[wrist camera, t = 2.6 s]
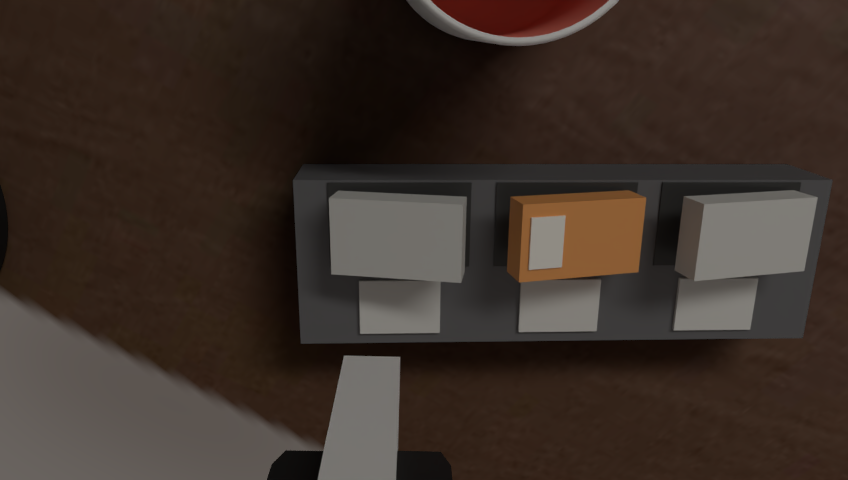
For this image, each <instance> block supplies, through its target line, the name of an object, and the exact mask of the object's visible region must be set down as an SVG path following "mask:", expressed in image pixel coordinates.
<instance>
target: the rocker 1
mask: <svg viewBox="0 0 848 480" xmlns="http://www.w3.org/2000/svg"><path fill="white" fill-rule="evenodd" d="M466 206H467V197H462V196H441V195H420V194H399V193H378V192H357V191H337V192H336V193H335V194H333V195H332V196H331V197H330V198H329V220H330V250H331V274H334V275H349V276H364V277H379V278H394V279H409V280H424V281H439V282H454V283H461V281H462V278H463V275H464V272H465V241H466Z"/></svg>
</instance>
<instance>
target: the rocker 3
mask: <svg viewBox="0 0 848 480" xmlns="http://www.w3.org/2000/svg"><path fill="white" fill-rule="evenodd" d="M817 199H818V197H815V196H812V195H808V194H805V193H802V192H798V191H795V190H786V191H768V192H751V193H734V194H716V195H699V196H684V198H683V206H682V214H681V223H680V231H679V239H678V247H677V255H676V263H675V271H677V272H678V273H680V274H682V275H684V276H686V277H687V278H689V279H691V280H693V281H702V280H713V279H724V278H735V277H745V276H756V275H767V274H778V273H789V272H800V271H804V269H805V264H806V259H807V253H808V248H809V242H810V237H811V231H812V226H813V220H814V215H815V210H816V204H817Z"/></svg>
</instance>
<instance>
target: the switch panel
mask: <svg viewBox="0 0 848 480" xmlns="http://www.w3.org/2000/svg"><path fill="white" fill-rule="evenodd" d="M831 186H832V180H831V179H828V178H825V177H823V176H820V175H817V174H814V173H811V172H808V171H805V170H802V169H799V168H796V167H793V166H791V165H788V164H303V165H302V167H301V169H300V170H299V172H298V173H297V175H296V176H295V178H294V179H293V193H294V214H295V235H296V255H297V276H298V297H299V317H300V338H301V344H313V343H401V342H489V341H578V340H666V339H754V338H803V334H804V328H805V323H806V318H807V313H808V307H809V302H810V297H811V291H812V286H813V281H814V276H815V270H816V265H817V260H818V254H819V249H820V244H821V238H822V233H823V228H824V223H825V217H826V212H827V207H828V201H829V196H830V191H831ZM625 190H629V191H632V192H634V193H637V194H639V195H641V196H644V197H646V206H645V215H644V224H643V234H642V243H641V252H640V261H639V271H638V272H635V273H623V274H612V275H600V276H589V277H577V278H566V279H554V280H543V281H531V282H520V283H519V282H518V281H517V280H516V279H515V278H513V277H512V276H511V275H510V274H509V273H508V272H507V258H508V237H509V216H510V197H513V196H532V195H550V194H569V193H588V192H606V191H625ZM786 190H795V191H798V192H802V193H805V194H808V195H812V196H815V197H818V199H817V204H816V210H815V215H814V220H813V226H812V231H811V237H810V242H809V248H808V253H807V259H806V264H805V269H804V271H800V272H789V273H778V274H767V275H756V276H745V277H735V278H724V279H713V280H702V281H693V280H691V279H689V278H687V277H686V276H684V275H682V274H680V273H678V272H677V271H675V263H676V255H677V247H678V239H679V231H680V223H681V214H682V206H683V198H684V196H699V195H716V194H734V193H751V192H768V191H786ZM337 191H357V192H378V193H399V194H420V195H441V196H462V197H467V206H466V241H465V272H464V275H463V278H462V281H461V283H454V282H439V281H424V280H409V279H394V278H379V277H364V276H349V275H334V274H331V250H330V220H329V198H330V197H331V196H332V195H333V194H335V193H336V192H337Z"/></svg>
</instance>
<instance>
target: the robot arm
mask: <svg viewBox="0 0 848 480" xmlns="http://www.w3.org/2000/svg"><path fill="white" fill-rule="evenodd" d="M7 238H8V222H7V212H6V205H5V200H4V196H3V192H2V189H1V186H0V270H1V267H2V264H3V261H4V257H5V252H6V247H7ZM399 386H400V357H385V356H344V358H343V363H342V368H341V372H340V377H339V382H338V386H337V391H336V396H335V400H334V405H333V410H332V414H331V419H330V424H329V428H328V433H327V438H326V442H325V447H324V451H285V452H284V453H283V454H282V455H281V456H280V457H279V458H278V459H277V460H276V461H275V462H274V463H273V464H272V466H271V469H270V472H269V475H268V478H267V480H452V472H451V465H450V464H449V462H448V461H447V460H446V458H445V457H444V456H443V454H442V453H441V452H422V451H398V426H399Z"/></svg>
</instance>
